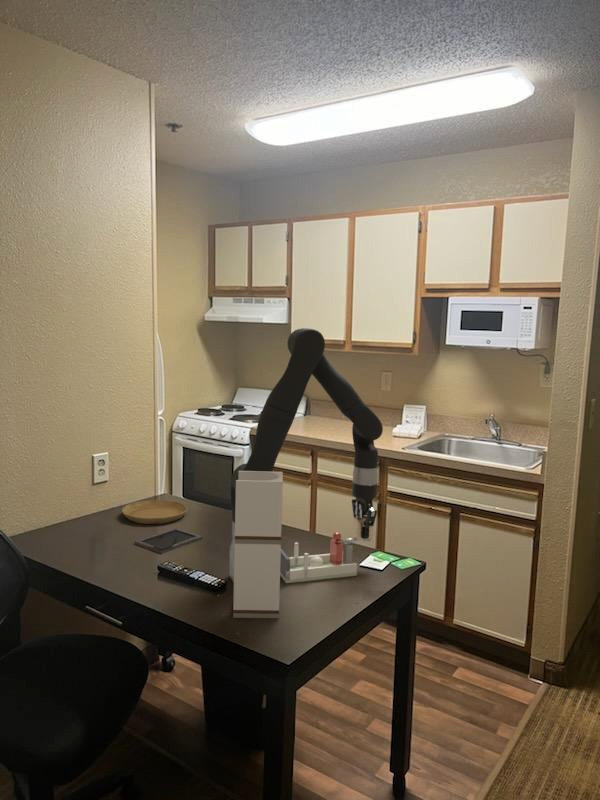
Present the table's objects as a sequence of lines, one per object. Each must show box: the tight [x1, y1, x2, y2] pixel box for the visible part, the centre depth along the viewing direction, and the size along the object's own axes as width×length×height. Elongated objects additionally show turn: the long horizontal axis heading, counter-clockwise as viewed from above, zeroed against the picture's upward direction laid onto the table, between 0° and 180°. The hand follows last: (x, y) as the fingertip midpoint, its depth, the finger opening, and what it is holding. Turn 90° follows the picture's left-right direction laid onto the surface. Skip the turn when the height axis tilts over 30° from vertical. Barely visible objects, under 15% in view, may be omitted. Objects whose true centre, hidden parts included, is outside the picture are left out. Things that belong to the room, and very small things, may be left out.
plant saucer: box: [121, 499, 188, 525], centre depth 231 cm, size 24×24×3 cm
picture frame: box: [134, 527, 204, 554], centre depth 204 cm, size 13×2×18 cm
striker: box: [329, 516, 374, 565], centre depth 184 cm, size 12×5×14 cm, turn 109°
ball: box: [310, 556, 323, 567], centre depth 182 cm, size 4×4×4 cm
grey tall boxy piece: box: [232, 471, 284, 619], centre depth 156 cm, size 11×11×35 cm
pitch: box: [280, 542, 358, 584], centre depth 181 cm, size 22×10×8 cm, turn 109°
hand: (362, 536), depth 185 cm, fingers closed on striker, 3 cm apart
